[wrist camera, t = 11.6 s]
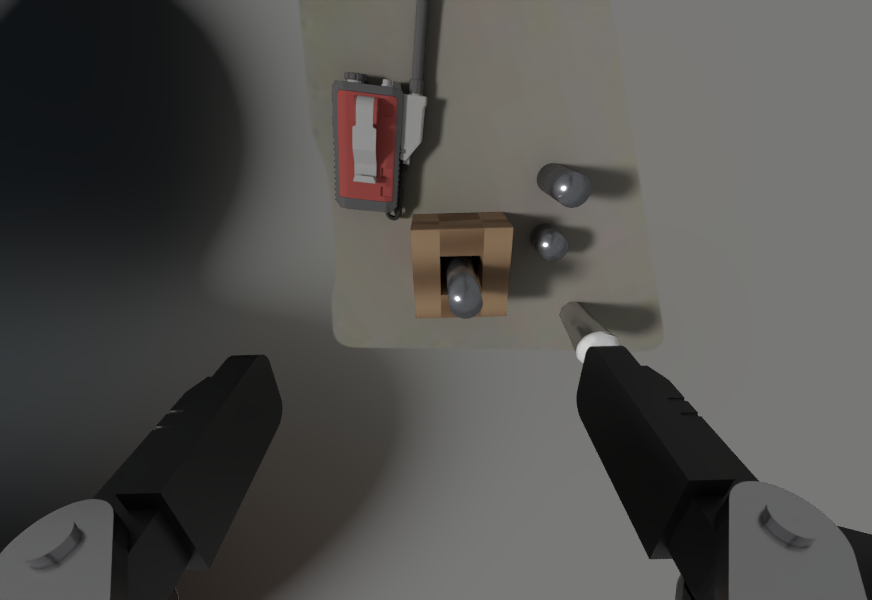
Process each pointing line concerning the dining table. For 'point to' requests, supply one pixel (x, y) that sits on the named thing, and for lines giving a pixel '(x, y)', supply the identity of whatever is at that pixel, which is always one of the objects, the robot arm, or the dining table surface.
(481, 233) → the hole block
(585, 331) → the milkshake
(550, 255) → the pin short
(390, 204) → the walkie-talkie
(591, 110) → the dining table surface
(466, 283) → the pin long
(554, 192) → the pin medium
